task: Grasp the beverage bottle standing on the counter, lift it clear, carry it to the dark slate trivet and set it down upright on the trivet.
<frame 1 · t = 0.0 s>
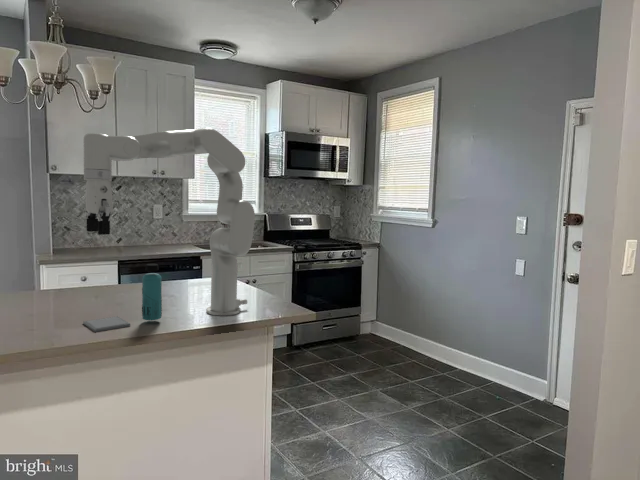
hand: (98, 232, 142), 31 cm above the countertop, fingers open, 9 cm apart
beverage bottle: (151, 322, 159), on the countertop
slate trivet: (106, 325, 154), on the countertop
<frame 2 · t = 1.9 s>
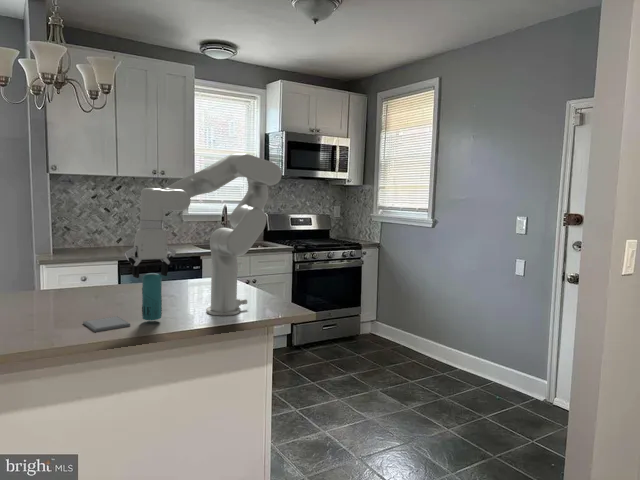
hand: (150, 276, 157), 16 cm above the countertop, fingers open, 9 cm apart
nothing on the countertop moved.
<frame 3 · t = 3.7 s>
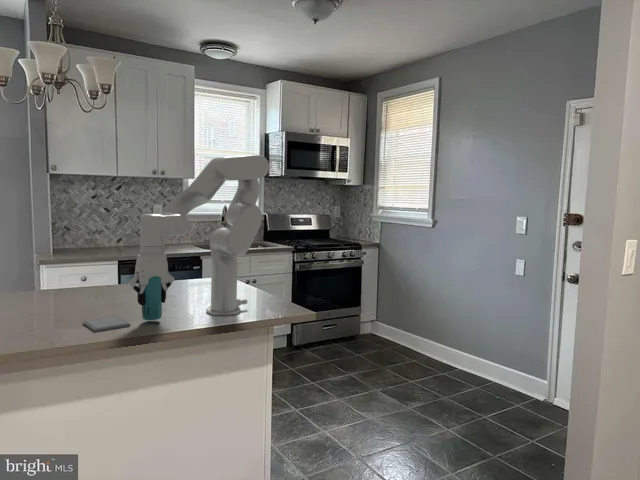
hand: (151, 302, 158), 7 cm above the countertop, fingers closed on beverage bottle, 6 cm apart
beverage bottle: (151, 322, 159), on the countertop, touching gripper
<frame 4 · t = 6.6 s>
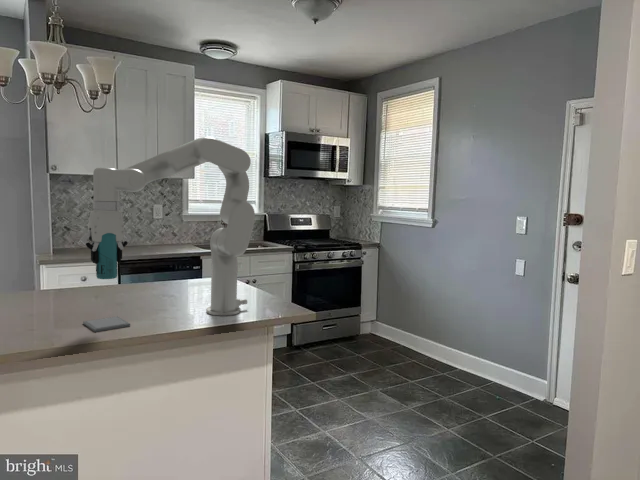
hand: (106, 261, 151), 21 cm above the countertop, fingers closed on beverage bottle, 6 cm apart
beverage bottle: (106, 282, 152), point 14 cm above the countertop, touching gripper
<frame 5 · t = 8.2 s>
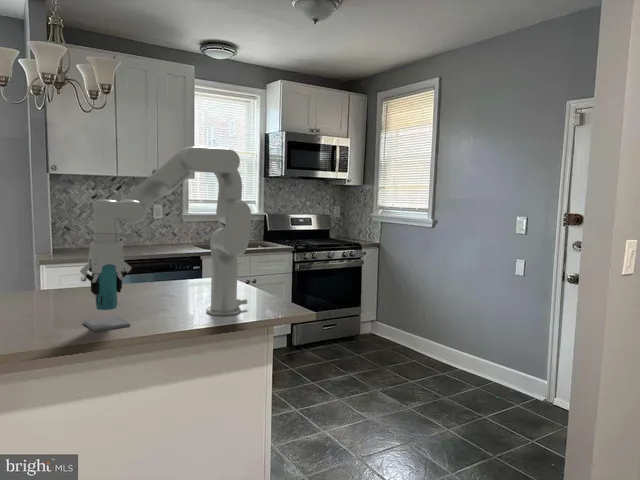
hand: (106, 292, 152), 11 cm above the countertop, fingers closed on beverage bottle, 6 cm apart
beverage bottle: (106, 312, 153), point 4 cm above the countertop, touching gripper
when the fingers open (9 cm above the countertop, at t = 9.6 s): beverage bottle drops 1 cm, resting on slate trivet.
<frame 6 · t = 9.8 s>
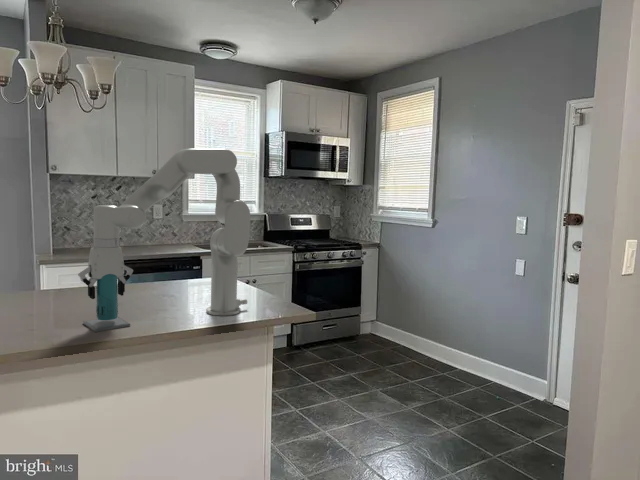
hand: (106, 296, 153), 10 cm above the countertop, fingers open, 8 cm apart
beverage bottle: (107, 322, 153), point 1 cm above the countertop, touching slate trivet
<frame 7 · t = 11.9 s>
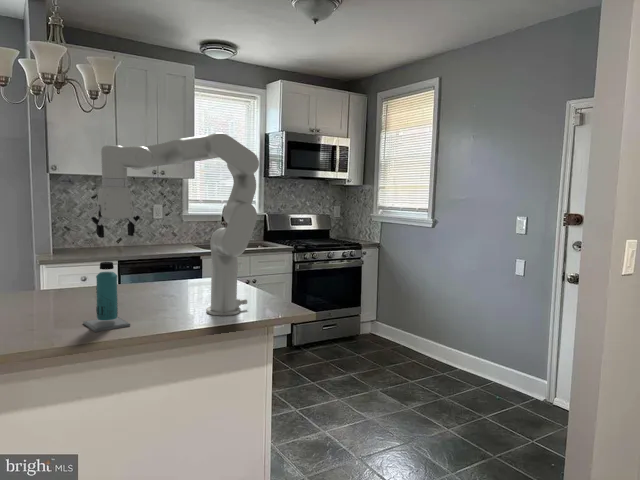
hand: (116, 236, 154), 29 cm above the countertop, fingers open, 9 cm apart
nothing on the countertop moved.
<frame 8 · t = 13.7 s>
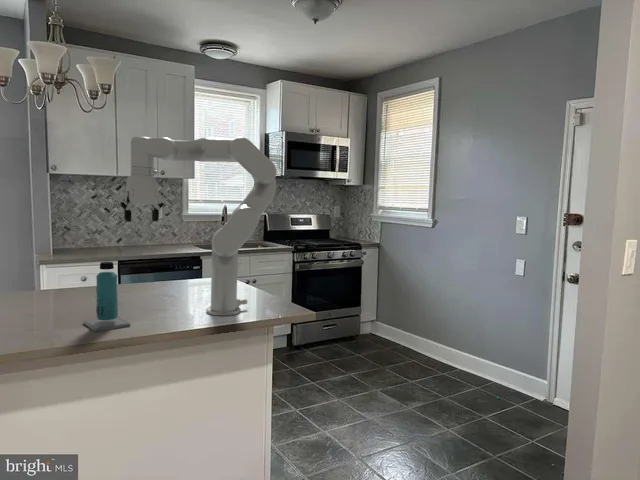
hand: (141, 221, 166), 33 cm above the countertop, fingers open, 9 cm apart
nothing on the countertop moved.
at the end: beverage bottle inside the target area on the slate trivet (0.1 cm from its centre), point 0.7 cm above the slate trivet's base; beverage bottle tilted 0°; the gripper is holding nothing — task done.
